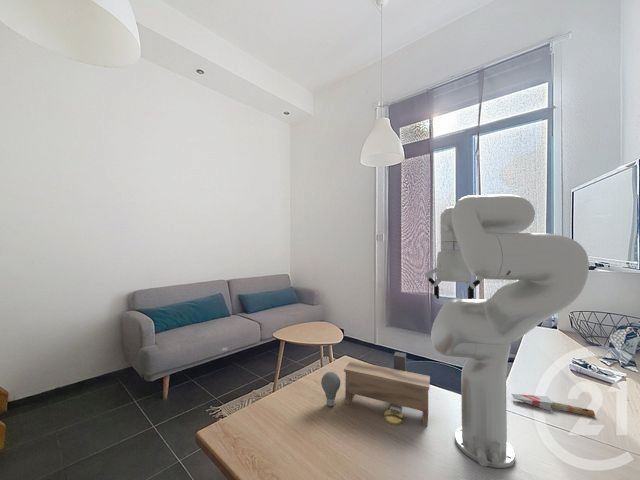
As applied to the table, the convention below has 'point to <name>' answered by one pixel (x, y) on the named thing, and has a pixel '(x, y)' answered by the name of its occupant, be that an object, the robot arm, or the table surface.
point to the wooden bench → (387, 386)
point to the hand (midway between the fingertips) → (453, 299)
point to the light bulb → (330, 386)
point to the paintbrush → (551, 404)
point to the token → (393, 417)
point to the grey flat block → (401, 365)
